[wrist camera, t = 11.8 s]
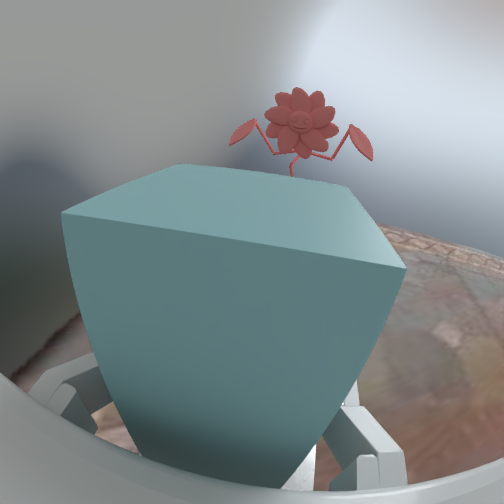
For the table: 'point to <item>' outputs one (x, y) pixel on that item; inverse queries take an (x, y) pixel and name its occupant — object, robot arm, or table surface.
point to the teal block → (229, 312)
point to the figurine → (303, 127)
